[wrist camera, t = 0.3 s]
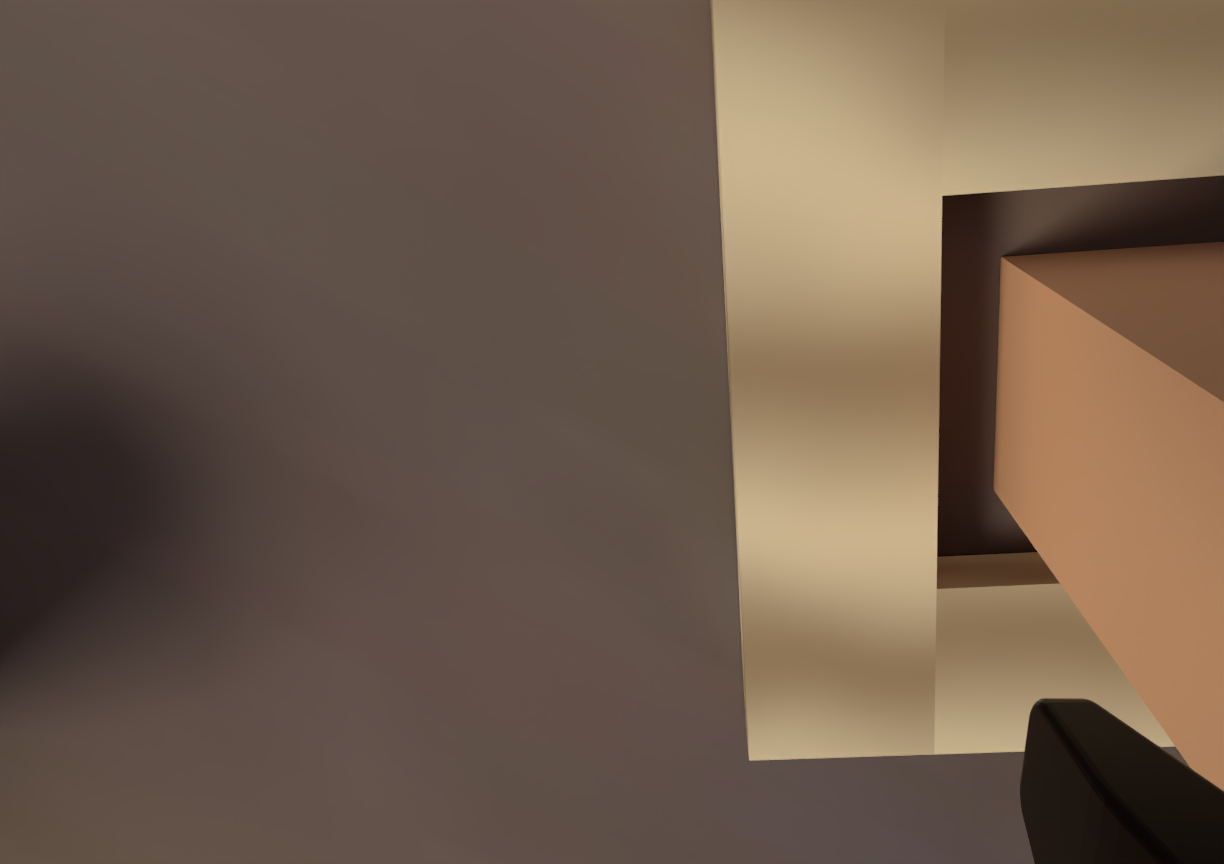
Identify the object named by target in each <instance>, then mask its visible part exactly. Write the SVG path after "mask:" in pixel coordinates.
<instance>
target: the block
mask: <svg viewBox="0 0 1224 864" xmlns="http://www.w3.org/2000/svg"><path fill="white" fill-rule="evenodd" d="M994 491H995V493H996V494H997V495H998V497H999V498H1000V500H1001V501H1002V502H1003V504H1004V505H1005V507H1006V508H1007V509H1008V511H1009V512H1010V514H1011V515H1012V516H1013V518H1014V519H1015V521H1016V522H1017V524H1018V525H1019V526H1020V528H1021V529H1022V531H1023V532H1024V533H1025V535H1026V536H1027V538H1028V539H1029V540H1030V542H1031V543H1032V545H1033V546H1034V548H1035V549H1036V550H1037V552H1038V553H1039V555H1040V556H1041V557H1042V559H1043V560H1044V562H1045V563H1046V564H1047V566H1048V567H1049V569H1050V570H1051V572H1052V573H1053V574H1054V576H1055V577H1056V579H1057V580H1058V581H1059V583H1060V584H1061V586H1062V587H1063V588H1064V590H1065V591H1066V593H1067V594H1068V595H1069V597H1070V598H1071V600H1072V601H1073V603H1074V604H1075V605H1076V607H1077V608H1078V610H1079V611H1080V612H1081V614H1082V615H1083V617H1084V618H1085V619H1086V621H1087V622H1088V624H1089V625H1090V627H1091V628H1092V629H1093V631H1094V632H1095V634H1096V635H1097V636H1098V638H1099V639H1100V641H1101V642H1102V643H1103V645H1104V646H1105V648H1106V649H1107V651H1108V652H1109V653H1110V655H1111V656H1112V658H1113V659H1114V660H1115V662H1116V663H1117V665H1118V666H1119V667H1120V669H1121V670H1122V672H1123V673H1124V674H1125V676H1126V677H1127V679H1128V680H1129V682H1130V683H1131V684H1132V686H1133V687H1134V689H1135V690H1136V691H1137V693H1138V694H1139V696H1140V697H1141V698H1142V700H1143V701H1144V703H1145V704H1146V706H1147V707H1148V708H1149V710H1150V711H1151V713H1152V714H1153V715H1154V717H1155V718H1156V720H1157V721H1158V722H1159V724H1160V725H1161V727H1162V728H1163V730H1164V731H1165V732H1166V734H1167V735H1168V737H1169V738H1170V739H1171V741H1172V742H1173V744H1174V745H1175V746H1176V748H1177V749H1178V751H1179V752H1180V753H1181V755H1182V756H1183V758H1184V759H1185V761H1186V762H1187V763H1188V765H1189V766H1190V768H1191V769H1192V770H1194V771H1195V772H1197V773H1198V774H1200V775H1201V776H1203V777H1204V778H1206V779H1207V780H1208V781H1210V782H1211V783H1213V784H1214V785H1216V786H1217V787H1219V788H1220V789H1221V790H1223V791H1224V242H1210V243H1196V244H1181V245H1167V246H1152V247H1137V248H1123V249H1108V250H1094V251H1079V252H1064V253H1050V254H1035V255H1021V256H1006V257H1001V271H1000V303H999V334H998V366H997V397H996V428H995V460H994Z"/></svg>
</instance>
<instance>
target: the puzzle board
mask: <svg viewBox="0 0 1224 864" xmlns="http://www.w3.org/2000/svg"><path fill="white" fill-rule="evenodd" d="M710 4H711V25H712V45H713V66H714V86H715V107H716V127H717V148H718V168H719V189H720V209H721V230H722V250H723V271H724V291H725V312H726V332H727V353H728V373H729V394H730V414H731V435H732V455H733V476H734V496H735V517H736V537H737V558H738V578H739V599H740V619H741V640H742V660H743V681H744V701H745V722H746V732H747V742H748V753H749V761H751V760H781V759H811V758H841V757H871V756H901V755H931V754H961V753H991V752H1021V751H1025V744H1026V736H1027V729H1028V722H1029V716H1030V712H1031V709H1032V707H1033V705H1034V703H1036V702H1037V701H1038V700H1040V699H1043V698H1084V699H1089V700H1091V701H1093V702H1095V703H1097V704H1098V705H1100V706H1101V707H1103V708H1104V709H1106V710H1107V711H1108V712H1110V713H1111V714H1113V715H1114V716H1116V717H1117V718H1119V719H1120V720H1121V721H1123V722H1124V723H1126V724H1127V725H1129V726H1130V727H1132V728H1133V729H1135V730H1136V731H1137V732H1139V733H1140V734H1142V735H1143V736H1145V737H1146V738H1148V739H1149V740H1150V741H1152V742H1153V743H1155V744H1156V745H1158V746H1159V747H1171V746H1175V745H1174V744H1173V742H1172V741H1171V739H1170V738H1169V737H1168V735H1167V734H1166V732H1165V731H1164V730H1163V728H1162V727H1161V725H1160V724H1159V722H1158V721H1157V720H1156V718H1155V717H1154V715H1153V714H1152V713H1151V711H1150V710H1149V708H1148V707H1147V706H1146V704H1145V703H1144V701H1143V700H1142V698H1141V697H1140V696H1139V694H1138V693H1137V691H1136V690H1135V689H1134V687H1133V686H1132V684H1131V683H1130V682H1129V680H1128V679H1127V677H1126V676H1125V674H1124V673H1123V672H1122V670H1121V669H1120V667H1119V666H1118V665H1117V663H1116V662H1115V660H1114V659H1113V658H1112V656H1111V655H1110V653H1109V652H1108V651H1107V649H1106V648H1105V646H1104V645H1103V643H1102V642H1101V641H1100V639H1099V638H1098V636H1097V635H1096V634H1095V632H1094V631H1093V629H1092V628H1091V627H1090V625H1089V624H1088V622H1087V621H1086V619H1085V618H1084V617H1083V615H1082V614H1081V612H1080V611H1079V610H1078V608H1077V607H1076V605H1075V604H1074V603H1073V601H1072V600H1071V598H1070V597H1069V595H1068V594H1067V593H1066V591H1065V590H1064V588H1063V587H1062V586H1061V584H1060V583H1059V581H1058V580H1057V579H1056V577H1055V576H1054V574H1053V573H1052V572H1051V570H1050V569H1049V567H1048V566H1047V564H1046V563H1045V562H1044V560H1043V559H1042V557H1041V556H1040V555H1039V553H1038V552H1029V553H1007V554H986V555H965V556H944V557H937V528H938V459H939V390H940V321H941V252H942V196H947V195H961V194H975V193H988V192H1002V191H1016V190H1029V189H1043V188H1057V187H1071V186H1084V185H1098V184H1112V183H1125V182H1139V181H1153V180H1166V179H1180V178H1194V177H1207V176H1221V175H1224V0H710Z"/></svg>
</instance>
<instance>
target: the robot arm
mask: <svg viewBox="0 0 1224 864" xmlns="http://www.w3.org/2000/svg"><path fill="white" fill-rule="evenodd" d="M1020 799H1021V808H1022V813H1023V818H1024V822H1025V826H1026V830H1027V834H1028V838H1029V842H1030V846H1031V850H1032V854H1033V858H1034V862H1035V864H1224V791H1223V790H1221V789H1220V788H1219V787H1217V786H1216V785H1214V784H1213V783H1211V782H1210V781H1208V780H1207V779H1206V778H1204V777H1203V776H1201V775H1200V774H1198V773H1197V772H1195V771H1194V770H1192V769H1191V768H1190V767H1188V766H1187V765H1185V764H1184V763H1182V762H1181V761H1179V760H1178V759H1177V758H1175V757H1174V756H1172V755H1171V754H1169V753H1168V752H1166V751H1165V750H1163V749H1162V748H1161V747H1159V746H1158V745H1156V744H1155V743H1153V742H1152V741H1150V740H1149V739H1148V738H1146V737H1145V736H1143V735H1142V734H1140V733H1139V732H1137V731H1136V730H1135V729H1133V728H1132V727H1130V726H1129V725H1127V724H1126V723H1124V722H1123V721H1121V720H1120V719H1119V718H1117V717H1116V716H1114V715H1113V714H1111V713H1110V712H1108V711H1107V710H1106V709H1104V708H1103V707H1101V706H1100V705H1098V704H1097V703H1095V702H1093V701H1091V700H1089V699H1084V698H1043V699H1040V700H1038V701H1037V702H1036V703H1034V705H1033V707H1032V709H1031V712H1030V716H1029V722H1028V729H1027V736H1026V744H1025V751H1024V758H1023V766H1022V773H1021V781H1020Z"/></svg>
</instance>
